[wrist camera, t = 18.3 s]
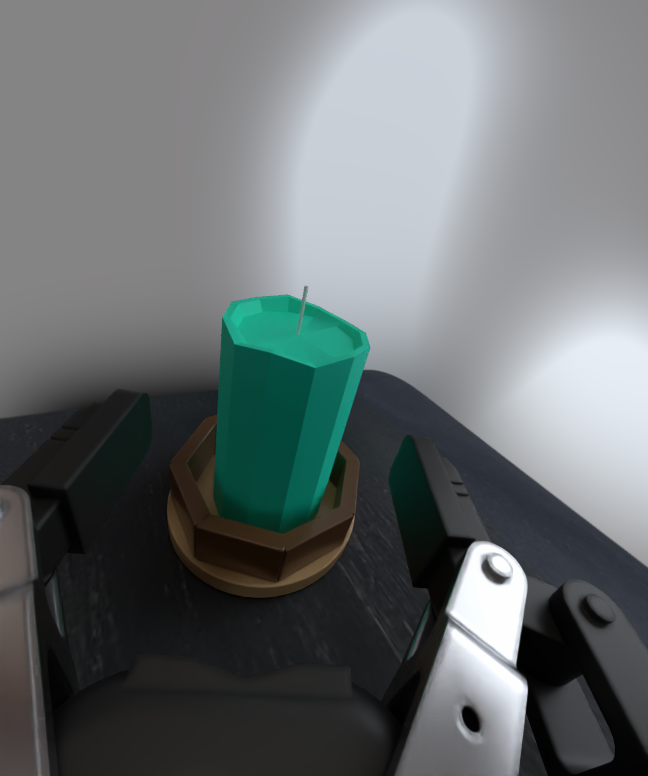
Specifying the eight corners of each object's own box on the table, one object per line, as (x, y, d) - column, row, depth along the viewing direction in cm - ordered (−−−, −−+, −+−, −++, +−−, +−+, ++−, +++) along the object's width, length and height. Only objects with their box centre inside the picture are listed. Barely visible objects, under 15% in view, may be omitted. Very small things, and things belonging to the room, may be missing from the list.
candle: (213, 457, 20) (223, 254, 14) (307, 454, 22) (353, 274, 16) (212, 550, 16) (226, 306, 9) (332, 536, 18) (410, 326, 11)
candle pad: (121, 563, 15) (111, 515, 13) (218, 427, 24) (220, 387, 22) (340, 626, 15) (361, 586, 13) (357, 465, 24) (370, 428, 22)
